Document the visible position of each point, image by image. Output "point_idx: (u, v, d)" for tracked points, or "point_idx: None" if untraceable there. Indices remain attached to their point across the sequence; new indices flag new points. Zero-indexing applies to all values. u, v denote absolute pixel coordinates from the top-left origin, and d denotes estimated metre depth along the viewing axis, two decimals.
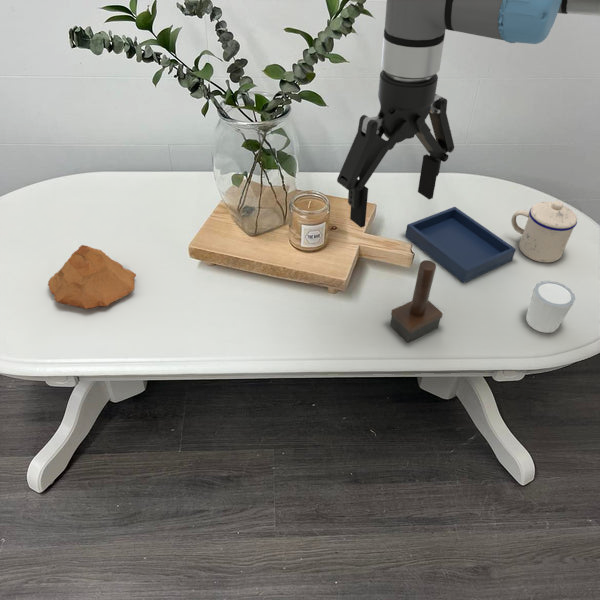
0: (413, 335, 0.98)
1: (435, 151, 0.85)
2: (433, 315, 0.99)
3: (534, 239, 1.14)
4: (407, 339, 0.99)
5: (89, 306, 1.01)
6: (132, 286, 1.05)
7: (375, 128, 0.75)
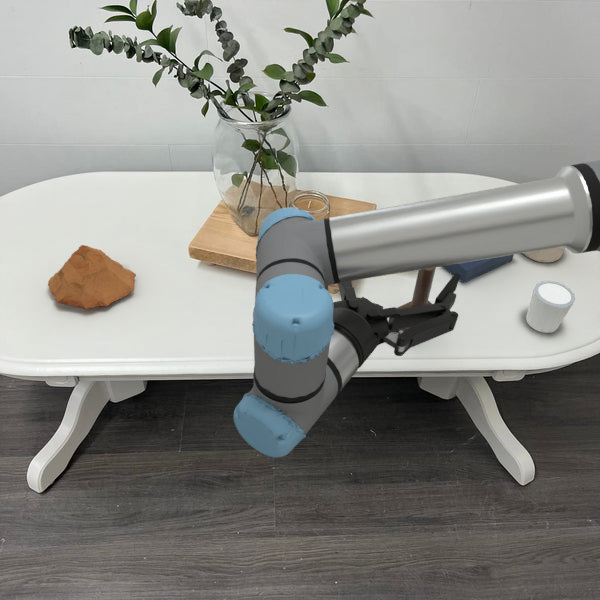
0: None
1: None
2: None
3: None
4: None
5: (89, 306, 1.01)
6: (132, 286, 1.05)
7: (402, 336, 0.69)
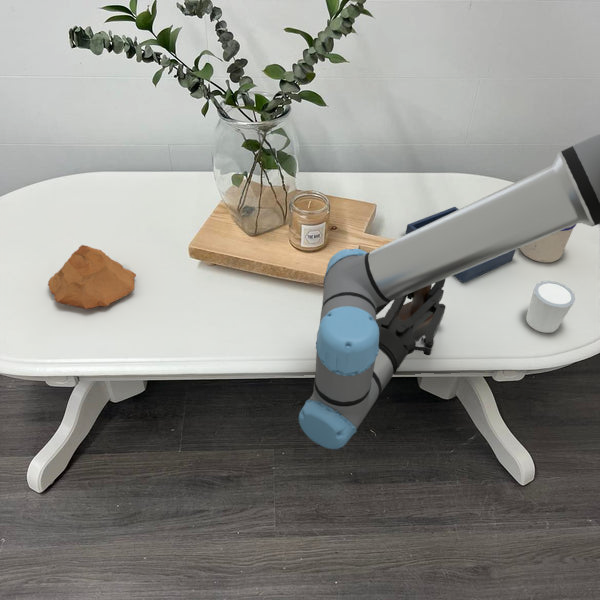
0: None
1: (403, 295, 0.94)
2: None
3: None
4: None
5: (89, 306, 1.01)
6: (132, 286, 1.05)
7: (428, 339, 0.87)
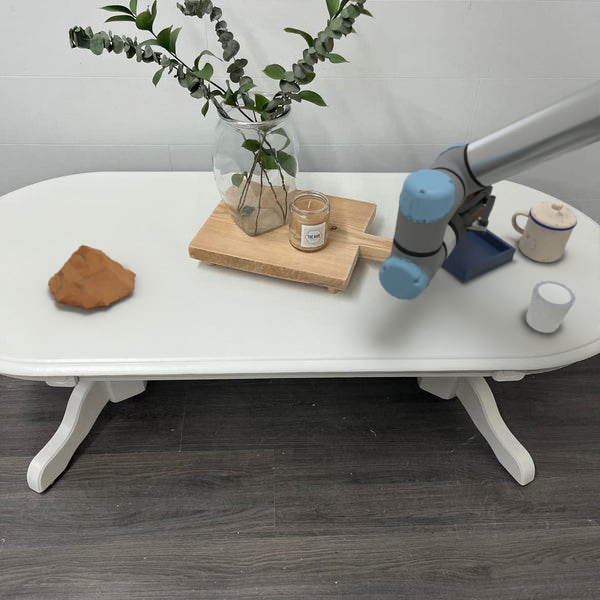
0: None
1: None
2: None
3: (534, 239, 1.14)
4: None
5: (89, 306, 1.01)
6: (132, 286, 1.05)
7: (483, 220, 1.00)
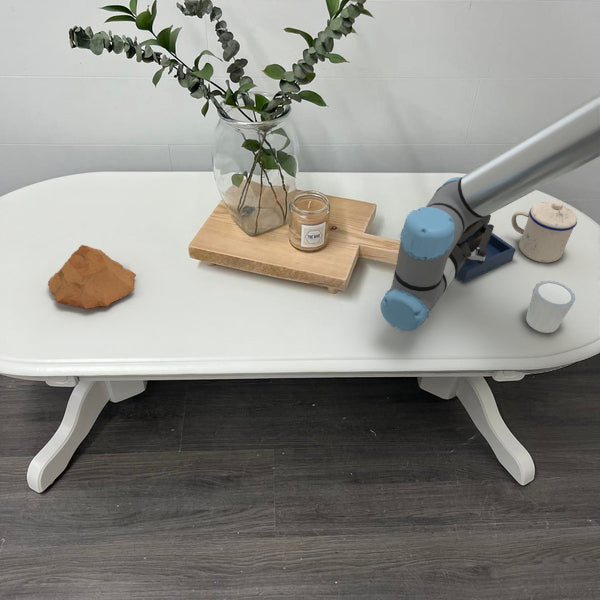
0: None
1: None
2: (481, 236, 1.14)
3: (534, 239, 1.14)
4: None
5: (89, 306, 1.01)
6: (132, 286, 1.05)
7: (482, 250, 1.03)
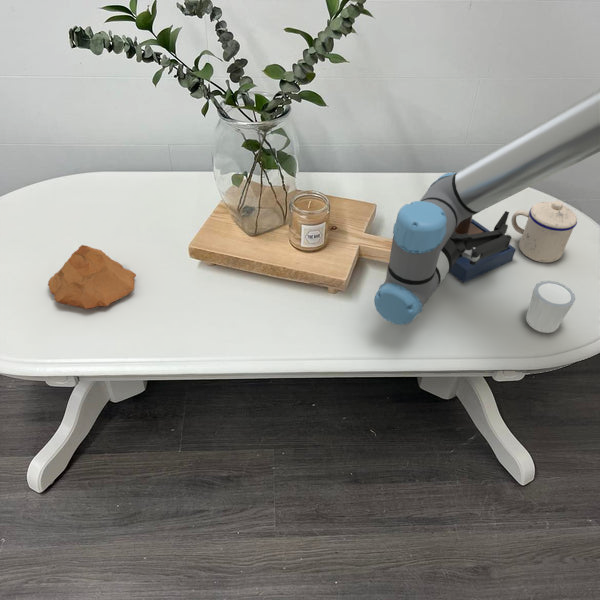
0: None
1: None
2: (475, 233, 1.15)
3: (534, 239, 1.14)
4: None
5: (89, 306, 1.01)
6: (132, 286, 1.05)
7: (475, 250, 1.02)
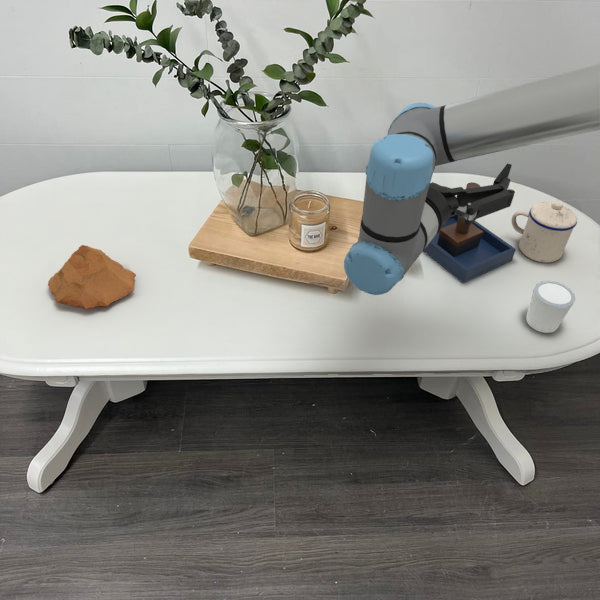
0: (459, 250, 1.15)
1: None
2: (475, 233, 1.15)
3: (534, 239, 1.14)
4: (453, 253, 1.15)
5: (89, 306, 1.01)
6: (132, 286, 1.05)
7: (471, 206, 0.83)
